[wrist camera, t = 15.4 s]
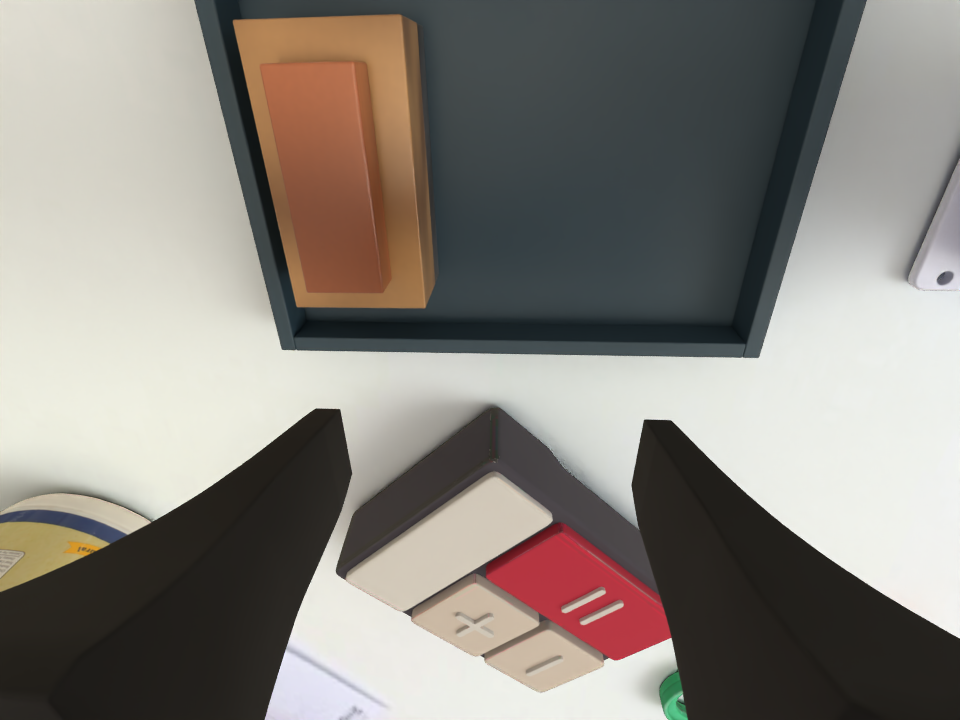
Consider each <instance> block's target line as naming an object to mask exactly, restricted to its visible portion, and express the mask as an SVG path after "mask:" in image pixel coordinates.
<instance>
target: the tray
mask: <svg viewBox="0 0 960 720" xmlns="http://www.w3.org/2000/svg"><path fill="white" fill-rule="evenodd" d="M194 1H195V5H196V9H197V13H198V17H199V21H200V25H201V29H202V33H203V37H204V41H205V45H206V49H207V53H208V57H209V61H210V65H211V69H212V73H213V77H214V81H215V85H216V89H217V93H218V97H219V101H220V105H221V109H222V113H223V117H224V121H225V125H226V129H227V133H228V137H229V140H230V144H231V148H232V152H233V156H234V160H235V164H236V168H237V172H238V176H239V180H240V184H241V188H242V192H243V196H244V200H245V204H246V208H247V212H248V216H249V220H250V224H251V228H252V232H253V236H254V240H255V244H256V248H257V252H258V256H259V260H260V264H261V268H262V272H263V276H264V280H265V284H266V288H267V292H268V296H269V300H270V304H271V308H272V312H273V316H274V320H275V324H276V328H277V332H278V336H279V340H280V344H281V348H282V350H296V349H297V350H309V351H370V352H431V353H493V354H554V355H615V356H677V357H738V358H741V357H744V358H759V356H760V352H761V349H762V346H763V342H764V339H765V336H766V332H767V329H768V326H769V322H770V319H771V316H772V312H773V309H774V306H775V303H776V299H777V296H778V293H779V289H780V286H781V283H782V279H783V276H784V273H785V269H786V266H787V263H788V259H789V256H790V253H791V249H792V246H793V243H794V240H795V236H796V233H797V230H798V226H799V223H800V220H801V216H802V213H803V210H804V206H805V203H806V200H807V196H808V193H809V190H810V187H811V183H812V180H813V177H814V173H815V170H816V167H817V163H818V160H819V157H820V153H821V150H822V147H823V143H824V140H825V137H826V134H827V130H828V127H829V124H830V120H831V117H832V114H833V110H834V107H835V104H836V100H837V97H838V94H839V90H840V87H841V84H842V81H843V77H844V74H845V71H846V67H847V64H848V61H849V57H850V54H851V51H852V47H853V44H854V41H855V37H856V34H857V31H858V28H859V24H860V21H861V18H862V14H863V11H864V8H865V4H866V1H867V0H194ZM389 14H400V15H403V16H404V17H406V18H408V19H410V20H412V21H414V22H416V23H418V24H420V25H422V27H423V37H424V52H425V67H426V83H427V98H428V113H429V129H430V144H431V159H432V174H433V190H434V205H435V220H436V236H437V251H438V266H439V275H438V278H437V280H436V283H435V286H434V288H433V291H432V293H431V295H430V298H429V300H428V303H427V305H426V308H336V307H297V306H296V302H295V297H294V293H293V288H292V284H291V279H290V275H289V270H288V266H287V261H286V257H285V252H284V248H283V244H282V239H281V235H280V230H279V226H278V221H277V217H276V212H275V208H274V203H273V199H272V194H271V190H270V186H269V181H268V177H267V172H266V168H265V163H264V159H263V154H262V150H261V145H260V141H259V136H258V132H257V128H256V123H255V119H254V114H253V110H252V105H251V101H250V96H249V92H248V87H247V83H246V78H245V74H244V70H243V65H242V61H241V56H240V52H239V47H238V43H237V38H236V34H235V29H234V25H233V20H238V19H268V18H298V17H328V16H359V15H389Z"/></svg>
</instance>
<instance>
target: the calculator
mask: <svg viewBox="0 0 960 720" xmlns="http://www.w3.org/2000/svg"><path fill="white" fill-rule="evenodd" d="M336 573H337V575H338V576H340V577H341V578H343V579H345V580H346V581H347V582H348V583H350V584H351V585H353V586H355V587H357V588H359V589H360V590H362V591H364V592H366V593H367V594H369V595H371V596H373V597H375V598H376V599H378V600H380V601H382V602H384V603H385V604H387V605H389V606H391V607H392V608H394V609H396V610H398V611H402V612H404V613H405V614H407V615H409V616H411V617H412V618H411V621H412V622H413V623H414V624H416V625H418V626H420V627H421V628H423V629H425V630H427V631H429V632H430V633H432V634H434V635H436V636H438V637H439V638H441V639H443V640H445V641H447V642H448V643H450V644H452V645H454V646H456V647H457V648H459V649H461V650H463V651H465V652H466V653H468V654H470V655H472V656H479V655H480V656H482V657H484V661H485V663H487V664H488V665H490V666H492V667H493V668H495V669H497V670H499V671H501V672H502V673H504V674H506V675H508V676H510V677H511V678H513V679H515V680H517V681H519V682H520V683H522V684H524V685H526V686H528V687H529V688H531V689H533V690H535V691H537V692H545V691H547V690H550V689H552V688H555V687H557V686H559V685H562V684H564V683H566V682H569V681H571V680H573V679H576V678H578V677H580V676H583V675H585V674H587V673H590V672H592V671H594V670H597V669H599V668H601V667H603V666H604V660H606V659H608V658H611V659H613V660H620V659H623V658H625V657H627V656H630V655H632V654H634V653H637V652H639V651H641V650H644V649H646V648H648V647H651V646H653V645H655V644H658V643H660V642H662V641H665V640H667V639H669V638H672V637H671V633H670V630H669V626H668V622H667V618H666V615H665V612H664V608H663V605H662V602H661V599H660V595H659V592H658V589H657V586H656V582H655V579H654V576H653V573H652V569H651V566H650V563H649V560H648V556H647V553H646V550H645V546H644V543H643V540H642V536H641V533H640V531H639V530H638V529H637V528H636V527H634V526H633V525H632V524H631V523H629V522H628V521H627V520H626V519H625V518H623V517H622V516H621V515H620V514H618V513H617V512H616V511H615V510H614V509H612V508H611V507H610V506H609V505H608V504H606V503H605V502H604V501H603V500H601V499H600V498H599V497H598V496H597V495H595V494H594V493H593V492H592V491H590V490H589V489H588V488H587V487H586V486H584V485H583V484H582V483H581V482H579V481H578V480H577V479H576V478H575V477H573V476H572V475H571V474H570V473H569V472H567V471H566V470H565V469H564V468H563V467H562V466H561V464H560V463H559V462H558V460H557V459H556V458H555V456H554V455H553V454H552V452H551V451H550V450H549V448H547V447H546V446H545V445H544V444H543V443H542V442H540V441H539V440H538V439H537V438H535V437H534V436H533V435H532V434H531V433H529V432H528V431H527V430H526V429H525V428H523V427H522V426H521V425H520V424H519V423H517V422H516V421H515V420H514V419H513V418H511V417H510V416H509V415H508V414H507V413H505V412H504V411H503V410H501V409H500V408H496V407H494V408H490V409H488V410H487V411H485V412H484V413H483V414H481V415H480V416H479V417H478V418H476V419H475V420H474V421H472V422H471V423H470V424H468V425H467V426H466V427H465V428H463V429H462V430H461V431H459V432H458V433H457V434H455V435H454V436H453V437H452V438H450V439H449V440H448V441H446V442H445V443H444V444H443V445H441V446H440V447H439V448H437V449H436V450H435V451H433V452H432V453H431V454H430V455H428V456H427V457H426V458H424V459H423V460H422V461H421V462H419V463H418V464H417V465H415V466H414V467H413V468H411V469H410V470H409V471H408V472H406V473H405V474H404V475H402V476H401V477H400V478H399V479H397V480H396V481H395V482H393V483H392V484H391V485H389V486H388V487H387V488H386V489H384V490H383V491H382V492H380V493H379V494H378V495H377V496H375V497H374V498H373V499H371V500H370V501H369V502H367V503H366V504H365V505H364V506H362V507H361V508H360V509H358V510H357V511H356V512H355V513H354V514H353V516H352V519H351V522H350V525H349V529H348V532H347V535H346V538H345V541H344V544H343V548H342V551H341V554H340V557H339V560H338V564H337V567H336Z"/></svg>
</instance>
